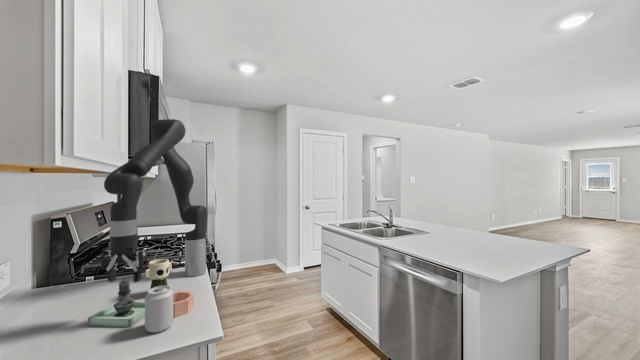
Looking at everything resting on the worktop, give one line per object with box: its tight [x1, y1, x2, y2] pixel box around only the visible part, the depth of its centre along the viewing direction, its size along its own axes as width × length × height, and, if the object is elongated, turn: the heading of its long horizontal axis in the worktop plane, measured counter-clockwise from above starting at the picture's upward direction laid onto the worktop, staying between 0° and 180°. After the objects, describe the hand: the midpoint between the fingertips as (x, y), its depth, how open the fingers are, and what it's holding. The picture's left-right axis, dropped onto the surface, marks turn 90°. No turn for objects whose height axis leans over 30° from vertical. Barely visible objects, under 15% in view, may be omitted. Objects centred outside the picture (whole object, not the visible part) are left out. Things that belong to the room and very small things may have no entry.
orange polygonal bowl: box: [173, 290, 195, 319], centre depth 94 cm, size 10×10×4 cm
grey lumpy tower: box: [113, 277, 136, 317], centre depth 89 cm, size 6×6×12 cm
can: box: [144, 285, 174, 334], centre depth 82 cm, size 8×8×12 cm
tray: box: [87, 300, 145, 328], centre depth 89 cm, size 12×14×2 cm
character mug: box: [144, 258, 173, 290], centre depth 107 cm, size 11×7×13 cm, turn 157°
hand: (124, 281), depth 89 cm, fingers open, 8 cm apart
